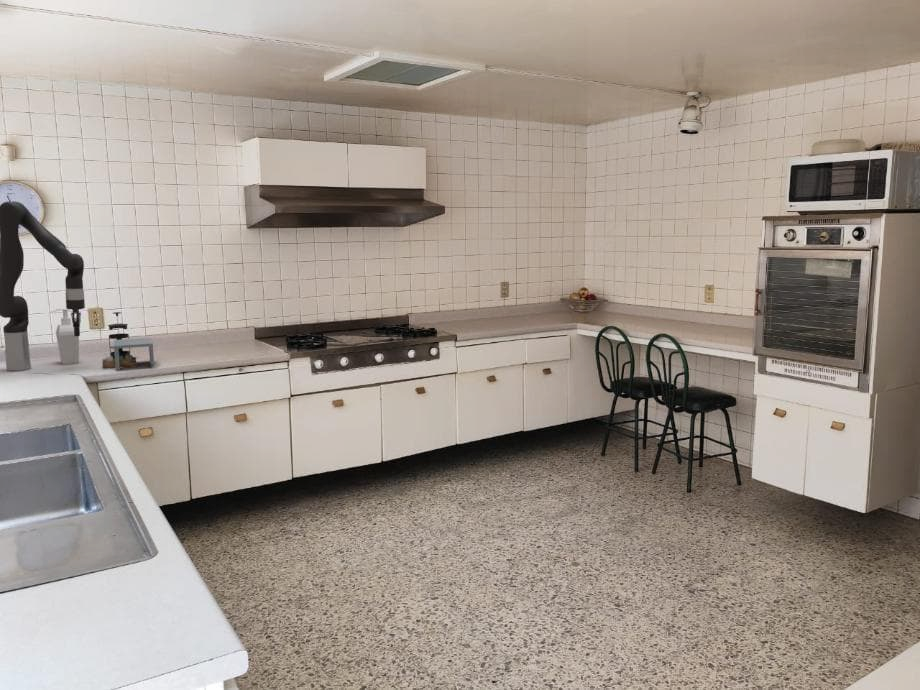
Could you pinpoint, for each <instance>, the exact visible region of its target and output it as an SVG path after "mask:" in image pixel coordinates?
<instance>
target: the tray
mask: <svg viewBox="0 0 920 690" xmlns="http://www.w3.org/2000/svg"><path fill="white" fill-rule="evenodd" d="M125 357H126V358H123V356H119V365H120V367H123V368H132V367H131V366H136V367H137V357H136V356H133V355H132V354H130V355H127V356H125ZM101 360H102V361H101V362H102V369H103V368H110V369H116V365H115V359H113V357H110V356H105V359H101Z"/></svg>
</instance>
